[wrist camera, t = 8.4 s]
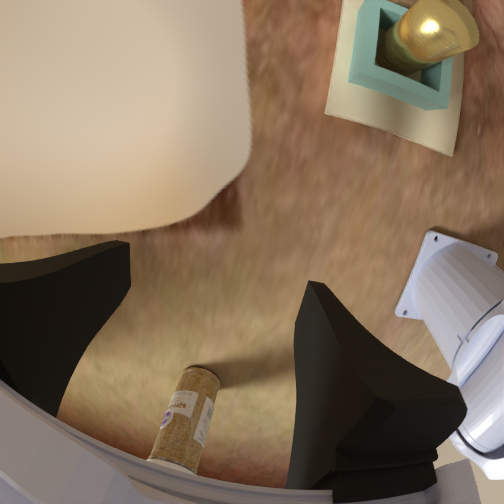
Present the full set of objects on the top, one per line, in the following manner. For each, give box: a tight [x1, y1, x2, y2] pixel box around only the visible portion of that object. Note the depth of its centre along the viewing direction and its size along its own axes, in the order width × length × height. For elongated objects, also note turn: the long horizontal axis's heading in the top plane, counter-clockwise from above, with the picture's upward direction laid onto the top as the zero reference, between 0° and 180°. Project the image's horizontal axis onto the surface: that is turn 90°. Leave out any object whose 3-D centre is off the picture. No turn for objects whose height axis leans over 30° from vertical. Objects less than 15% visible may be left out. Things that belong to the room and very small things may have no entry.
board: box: [325, 0, 464, 157], centre depth 12 cm, size 10×18×1 cm, turn 170°
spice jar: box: [146, 367, 220, 475], centre depth 22 cm, size 5×5×13 cm
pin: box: [375, 0, 479, 77], centre depth 10 cm, size 3×3×8 cm
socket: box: [348, 0, 453, 111], centre depth 12 cm, size 6×6×3 cm
